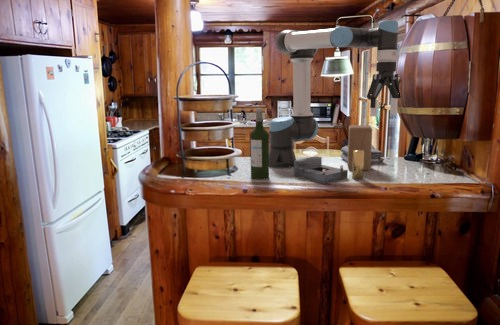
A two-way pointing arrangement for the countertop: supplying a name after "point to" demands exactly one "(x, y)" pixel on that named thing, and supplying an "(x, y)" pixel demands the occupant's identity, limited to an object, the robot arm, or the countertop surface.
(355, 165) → the brass cylinder
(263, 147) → the wine bottle
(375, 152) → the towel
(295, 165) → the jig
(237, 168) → the countertop surface
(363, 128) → the wooden block
